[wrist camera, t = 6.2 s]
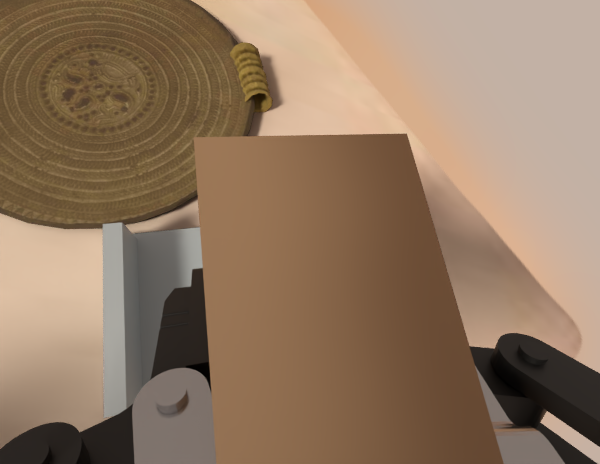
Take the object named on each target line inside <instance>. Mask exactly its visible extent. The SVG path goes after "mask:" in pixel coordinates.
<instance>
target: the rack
mask: <svg viewBox="0 0 600 464" xmlns="http://www.w3.org/2000/svg"><path fill="white" fill-rule="evenodd" d="M198 268H203V264H202V250H201V236H200V227H197V228H187V229H176V230H166V231H156V232H146V233H135V234H132V233H131V232H130V231H129V230H128V228H127V227H126V226H125V225H124V224H123V223H122V222H121V223H110V224H103V361H104V418H106V417H110V416H115V415H117V414H119V413H121V412H122V411H124V410H125V409H127V408H128V407H129V406H131V405H132V404H133V403H134V400H135V398H136V396H137V394H138V393H139V391H140V390H141V389H142V387H143V386H144V385H145V384H146V383H147V382H148V381H150V378H151V374H152V369H153V363H154V358H155V352H156V347H157V341H158V335H159V330H160V324H161V319H162V313H163V307H164V302H165V300H166V299H167V297H168V296H169V295H170V293H171V292H172V291H173V290H174V288H182V287H190V286H191V280H192V269H198Z"/></svg>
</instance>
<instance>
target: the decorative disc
mask: <svg viewBox="0 0 600 464" xmlns="http://www.w3.org/2000/svg"><path fill="white" fill-rule="evenodd" d="M272 101H273V100H272V98H271V97H270V92H269V89H268V83H267V81H266V74H265V72H264V71H263V66H262V62H261V59H260V55H259V51H258V49H257V48H256V47H255V46H254V45H252V44H250V43H243V42H241V43H239V44H238V43H237V41H236V40H235V39H234V38H233V36H232V35H231V34H230V33H229V32H228V30H227V29H226V28H225V27H224V26H223V24H221V23H220V22H219V21H218V20H217V19H215V18H214V17H213V16H212V15H211V14H210V13H208V12H207V11H206V10H205V9H203V8H202V7H200V6H199V5H197V4H196V3H194V2H193V1H191V0H0V213H2V214H4V215H7V216H10V217H13V218H16V219H18V220H21V221H24V222H27V223H32V224H38V225H44V226H50V227H56V228H63V229H94V228H103V224H110V223H121V222H122V223H123V224H130V223H135V222H140V221H143V220H146V219H149V218H152V217H154V216H157V215H160V214H163V213H165V212H168V211H170V210H172V209H174V208H176V207H178V206H179V205H181V204H183V203H185V202H186V201H188V200H190V199H191V198H193V197H195V196H197V195H198V193H197V178H196V164H195V149H194V137H241V136H247V135H248V133H249V131H250V127H251V122H252V117H253V113H254V112H266V111H267V110H268V109H269V108H270V107H271V106H272Z"/></svg>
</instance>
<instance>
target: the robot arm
mask: <svg viewBox="0 0 600 464" xmlns="http://www.w3.org/2000/svg"><path fill="white" fill-rule="evenodd" d="M469 347H470V346H469ZM470 350H471V354H472V357H473V361H474V364H475V367H476V371H477V374H478V378H479V381H480V384H481V388H482V391H483V395H484V398H485V401H486V405H487V408H488V412H489V415H490V418H491V422H492V425H493V429H494V432H495V435H496V439H497V442H498V446H499V449H500V452H501V456H502V459H503V463H504V464H597V463H596V462H594V461H593V460H591V459H590V458H588V457H587V456H586V455H584V454H583V453H582V452H580V451H579V450H578V449H576V448H575V447H573V446H572V445H571V444H569V443H568V442H566V441H565V440H564V439H562V438H561V437H560V436H558V435H557V434H555V433H554V432H553V431H551V430H550V429H548V428H547V427H546V426H544V425H543V424H541V423H540V422H541V420H542V418H543V417H544V415H545V413H546V411H548V412H550V413H551V414H553V415H554V416H556V417H557V418H558V419H560V420H561V421H563V422H564V423H566V424H567V425H569V426H570V427H572V428H573V429H574V430H576V431H577V432H579V433H580V434H582V435H583V436H585V437H586V438H588V439H589V440H590V441H592V442H593V443H595V444H596V445H598V446H599V447H600V374H599V373H598V372H596V371H594V370H592V369H590V368H589V367H587V366H585V365H583V364H582V363H579V362H578V361H576V360H574V359H573V358H571V357H569V356H567V355H565V354H564V353H562V352H560V351H558V350H557V349H555V348H553V347H551V346H549V345H548V344H546V343H544V342H542V341H540V340H538V339H536V338H533V337H530V336H527V335H523V334H518V333H509V334H505V335H503V336H501V337H500V338H499V340H498V342H497V344H496V347H495V349H492V348H481V347H470ZM0 464H216V451H215V437H214V422H213V408H212V394H211V379H210V365H209V351H208V336H207V322H206V308H205V293H204V279H203V268H198V269H192V280H191V286H190V287H182V288H174V290H173V291H172V292H171V293H170V295H169V296H168V297H167V299H166V300H165V302H164V307H163V313H162V319H161V324H160V330H159V335H158V341H157V347H156V352H155V358H154V363H153V369H152V374H151V378H150V381H148V382H147V383H146V384H145V385H144V386H143V387H142V389H141V390H140V391H139V393H138V394H137V396H136V398H135V400H134V403H133V404H132V405H131V406H129V407H128V408H127V409H125V410H124V411H122V412H121V413H119V414H117V415H116V416H114V417H112V418H110V419H108V420H105V421H103V422H101V423H99V424H97V425H95V426H93V427H91V428H89V429H86V430H84V431H82V432H80V433H79V431H78V430H77V429H76V428H75V427H74V426H72V425H70V424H67V423H62V422H55V423H48V424H44V425H41V426H38V427H35V428H33V429H30V430H28V431H26V432H24V433H23V434H21V435H19V436H17V437H16V438H14V439H13V440H12V441H10V442H9V443H7V444H6V445H5V446H4V447H3V448H1V449H0Z"/></svg>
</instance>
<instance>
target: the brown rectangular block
mask: <svg viewBox="0 0 600 464" xmlns="http://www.w3.org/2000/svg"><path fill="white" fill-rule="evenodd" d="M194 149H195V164H196V178H197V193H198V207H199V221H200V236H201V250H202V264H203V279H204V293H205V308H206V322H207V336H208V351H209V365H210V379H211V394H212V408H213V422H214V437H215V451H216V464H504V463H503V459H502V456H501V452H500V449H499V446H498V442H497V439H496V435H495V432H494V429H493V425H492V422H491V418H490V415H489V412H488V408H487V405H486V401H485V398H484V395H483V391H482V388H481V384H480V381H479V378H478V374H477V371H476V367H475V364H474V361H473V357H472V354H471V350H470V347H469V344H468V340H467V337H466V333H465V330H464V327H463V323H462V320H461V316H460V313H459V310H458V306H457V303H456V299H455V296H454V293H453V289H452V286H451V282H450V279H449V276H448V272H447V269H446V265H445V262H444V259H443V255H442V252H441V249H440V245H439V242H438V238H437V235H436V232H435V228H434V225H433V221H432V218H431V215H430V211H429V208H428V204H427V201H426V198H425V194H424V191H423V187H422V184H421V181H420V177H419V174H418V170H417V167H416V164H415V160H414V157H413V153H412V150H411V147H410V143H409V140H408V136H407V134H363V135H302V136H241V137H194Z"/></svg>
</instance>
